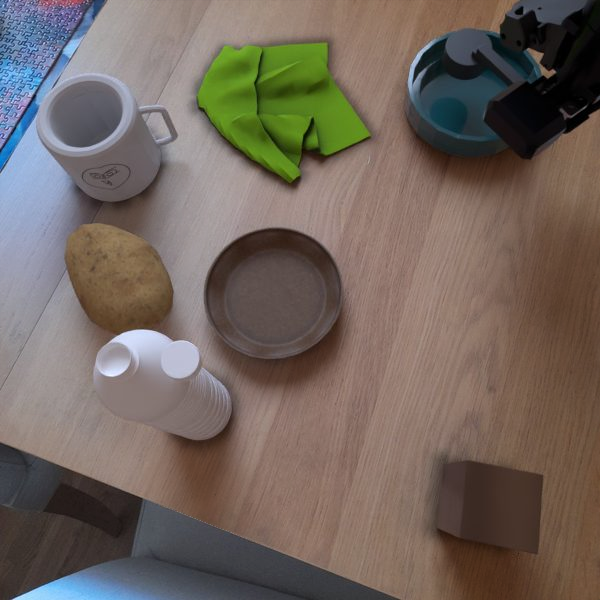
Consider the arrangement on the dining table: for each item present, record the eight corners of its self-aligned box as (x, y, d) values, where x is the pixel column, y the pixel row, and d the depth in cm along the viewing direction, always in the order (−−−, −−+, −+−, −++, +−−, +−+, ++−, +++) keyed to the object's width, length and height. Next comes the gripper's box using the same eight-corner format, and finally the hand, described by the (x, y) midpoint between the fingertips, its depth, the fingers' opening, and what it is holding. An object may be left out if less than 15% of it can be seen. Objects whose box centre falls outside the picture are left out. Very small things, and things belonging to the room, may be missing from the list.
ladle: (432, 59, 64) (438, 34, 61) (466, 36, 65) (474, 10, 61) (531, 156, 60) (543, 135, 56) (566, 130, 61) (581, 108, 57)
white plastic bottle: (168, 440, 58) (53, 410, 34) (173, 377, 60) (69, 308, 36) (252, 441, 58) (195, 412, 34) (255, 378, 60) (203, 308, 36)
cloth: (207, 39, 74) (203, 24, 71) (377, 45, 72) (378, 31, 69) (182, 178, 67) (177, 167, 65) (367, 188, 66) (368, 178, 63)
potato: (130, 222, 66) (103, 188, 58) (204, 307, 62) (187, 283, 55) (62, 275, 64) (25, 248, 57) (134, 366, 61) (106, 349, 53)
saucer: (200, 250, 64) (194, 240, 62) (327, 224, 65) (326, 214, 62) (219, 376, 60) (213, 372, 57) (355, 348, 60) (356, 342, 57)
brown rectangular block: (505, 475, 55) (543, 474, 45) (500, 541, 54) (538, 554, 44) (443, 463, 56) (467, 459, 46) (436, 527, 54) (459, 538, 44)
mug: (79, 212, 67) (37, 168, 57) (70, 136, 70) (29, 82, 61) (191, 187, 67) (168, 138, 57) (177, 112, 70) (153, 54, 61)
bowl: (536, 61, 70) (548, 37, 66) (527, 168, 65) (539, 149, 61) (412, 47, 71) (417, 22, 68) (395, 150, 67) (399, 131, 63)
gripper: (631, -100, 48) (560, 38, 63) (461, 11, 45) (430, 128, 60) (737, -21, 45) (637, 104, 59) (561, 103, 42) (502, 202, 57)
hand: (549, 132), depth 59 cm, fingers closed on ladle
